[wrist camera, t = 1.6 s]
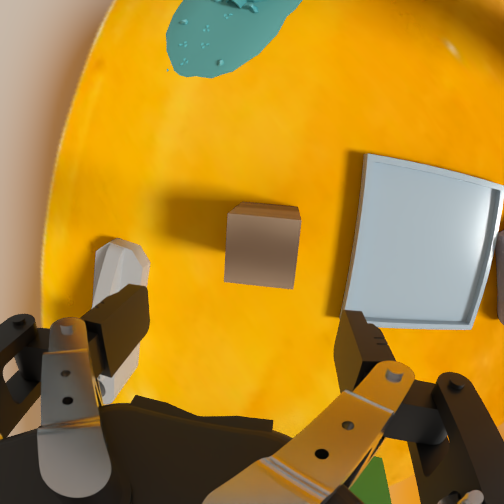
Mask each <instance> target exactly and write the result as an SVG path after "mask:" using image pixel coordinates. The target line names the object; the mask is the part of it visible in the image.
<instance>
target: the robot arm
mask: <svg viewBox="0 0 504 504" xmlns="http://www.w3.org/2000/svg"><path fill="white" fill-rule="evenodd" d="M149 324H150V317H149V303H148V290H147V288H146V286H141V285H135V284H127V285H126V286H125V287H124V288H123V289H121V290H120V291H119V292H118V293H115V294H112V295H110V296H107V297H106V298H104V299H103V300H102V301H101V302H100V303H98V304H97V305H96V306H95V307H93V308H92V309H91V310H90V311H88V312H87V313H86V314H85V315H83V316H82V317H81V318H80V319H79V318H75V317H68V318H63V319H59V320H57V321H56V322H54V323H53V324H52V325H51V327H50V329H47V328H37V326H36V322H35V318H34V317H33V316H32V315H29V314H18V315H14V316H12V317H10V318H8V319H7V320H6V321H4V322H3V323H2V324H0V504H365V503H364V502H362V501H361V500H360V499H359V498H358V497H357V496H356V495H355V494H354V493H353V492H351V491H350V490H349V489H350V488H351V487H352V485H353V484H354V483H355V481H356V480H357V478H358V477H359V476H360V474H361V473H362V471H363V470H364V469H365V467H366V466H367V465H368V463H369V462H370V461H371V459H372V458H373V456H374V455H375V454H376V452H377V451H378V449H379V448H380V446H381V445H382V443H383V442H384V440H385V439H386V437H388V438H393V439H398V440H403V441H407V443H408V447H409V451H410V455H411V459H412V463H413V468H414V472H415V477H416V481H417V486H418V491H419V496H420V502H421V504H504V441H503V439H502V437H501V435H500V433H499V431H498V429H497V427H496V425H495V423H494V422H493V420H492V418H491V416H490V414H489V412H488V411H487V409H486V407H485V405H484V403H483V402H482V400H481V398H480V396H479V395H478V393H477V391H476V390H475V388H474V386H473V385H472V383H471V382H470V381H469V380H468V379H467V378H466V377H464V376H463V375H460V374H458V373H453V372H446V373H443V374H441V375H440V376H439V377H438V379H437V381H436V384H434V383H428V382H423V381H418V380H415V375H414V372H413V371H412V370H411V369H410V368H409V367H408V366H406V365H405V364H403V363H400V362H397V361H396V360H395V358H394V356H393V354H392V352H391V350H390V348H389V346H388V345H387V344H388V343H387V341H386V339H384V338H385V337H384V335H383V333H382V332H381V330H380V329H379V328H378V327H376V326H375V325H374V324H371V323H367V321H366V319H365V317H364V315H363V312H362V311H355V310H343V311H342V314H341V318H340V323H339V327H338V332H337V336H336V340H335V345H334V362H335V367H336V372H337V377H338V382H339V387H340V393H341V394H340V395H339V396H338V397H337V398H336V399H335V400H334V401H333V402H332V403H331V404H330V405H329V406H328V407H327V408H326V409H325V410H324V411H323V412H322V413H321V414H319V415H318V416H317V417H316V418H315V419H314V420H313V421H312V422H311V423H310V424H309V425H308V426H306V427H305V428H304V429H303V430H302V431H301V432H300V433H299V434H297V435H296V436H295V437H294V438H291V437H289V436H287V435H285V434H282V433H280V432H277V431H274V430H272V428H273V420H267V419H258V418H249V417H242V416H211V417H203V416H197V415H194V414H191V413H189V412H187V411H184V410H182V409H180V408H177V407H175V406H173V405H171V404H168V403H166V402H161V401H157V400H153V399H149V398H145V397H142V396H138V395H135V397H134V398H133V400H132V402H131V403H116V404H109V405H104V404H103V400H102V395H101V391H100V386H99V382H98V378H97V377H98V376H99V375H103V376H107V377H110V378H112V377H113V375H114V374H115V373H116V372H117V370H118V369H119V368H120V366H121V365H122V364H123V363H124V361H125V360H126V359H127V357H128V356H129V355H130V354H131V352H132V351H133V350H134V349H135V347H136V346H137V345H138V344H139V342H140V341H141V340H142V338H143V337H144V336H145V335H146V333H147V332H148V329H149ZM13 357H14V358H15V360H16V363H17V366H18V368H19V370H18V371H17V372H16V373H15V374H14V375H13V376H12V377H11V378H10V379H9V380H8V381H7V382H6V383H5V381H4V378H3V368H4V366H5V365H6V364H7V363H8V362H9V361H10V360H11V359H12V358H13ZM40 395H41V426H39V427H38V428H37V429H34V430H31V431H27V432H24V433H21V434H18V435H14V436H11V437H7V436H8V435H9V434H10V432H11V431H12V430H13V429H14V427H15V426H16V425H17V424H18V422H19V421H20V420H21V419H22V417H23V416H24V415H25V413H26V412H27V411H28V410H29V409H30V407H31V406H32V405H33V404H34V403H35V401H36V400H37V399H38V398H39V397H40ZM447 435H448V437H449V440H448V438H447ZM449 442H450V443H449Z"/></svg>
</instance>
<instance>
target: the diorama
mask: <svg viewBox="0 0 504 504" xmlns="http://www.w3.org/2000/svg"><path fill="white" fill-rule="evenodd" d="M301 2H302V0H183V2H182V3H181V4H180V6H179V7H178V9H177V10H176V12H175V13H174V15H173V17H172V20H171V22H170V25H169V28H168V30H167V33H166V40H167V53H168V55H169V58H170V61H171V63H172V66H173V68H174V71H176V72H177V73H178V74H179V75H181V76H185V77H192V76H199V77H206V78H214V77H216V76H219V75H222V74H225V73H229V72H232V71H234V70H236V69H237V68H239V67H240V66H241V65H243V64H244V63H246V62H247V61H249V60H250V59H252V58H253V57H255V56H257V55H258V54H259V53H260V52H261V51H262V50H263V49H264V48H265V47H266V45H267V44H268V43H269V42H270V41H271V40H272V39H273V38H274V37H275V36H276V35H277V34H278V32H279V30H280V28H281V26H282V25H283V23H284V21H285V19H286V17H287V16H288V15H289V14H290V13H292V12H293V11H294V10H295V9H296V8H297V6H298V5H299V4H300V3H301ZM168 71H169V70H168V69H167V72H168Z"/></svg>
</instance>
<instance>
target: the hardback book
mask: <svg viewBox="0 0 504 504" xmlns="http://www.w3.org/2000/svg"><path fill="white" fill-rule="evenodd" d="M349 490H350V491H351V492H353V493H354V494H355V495H356V496H357V497H358V498H359V499H360V500H361V501H362V502H364V503H365V504H391V499H390V494H389V488H388V484H387V479H386V474H385V470H384V465H383V461H382V458H379V457H375V456H373V458H372V459H371V461H370V462H369V463H368V465H367V466H366V467H365V469H364V470H363V471H362V473H361V474H360V476H359V477H358V478H357V480H356V481H355V483H354V484H353V485H352V487H351V488H350V489H349Z"/></svg>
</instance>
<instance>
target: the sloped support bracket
mask: <svg viewBox="0 0 504 504" xmlns="http://www.w3.org/2000/svg"><path fill="white" fill-rule="evenodd" d="M149 268H150V261H149V260H148V258H147V256H146V255H145V253H144V251H143V249H142V248H141V246H140V245H138V244H135V243H132V242H129V241H126V240H123V239H120V238H117V239H115V240H112V241H110V242H109V243H107V244H106V245H104V246H103V247H101V248H100V249H98V250H97V251H96V257H95V270H94V286H93V304H92V308H93V307H95V306H96V305H97V304H98V303H100V302H101V301H102V300H103V299H104V298H106V297H107V296H110V295H112V294H115V293H118V292H119V291H120V290H121V289H123V288H124V287H125V286H126V285H127V284H135V285H141V286H146V288H147V281H148V274H149ZM92 308H91V309H92ZM139 347H140V342H139V344H138V345H137V346H136V347H135V349H134V350H133V351H132V352H131V354H130V355H129V356H128V357H127V359H126V360H125V361H124V363H123V364H122V365H121V366H120V368H119V369H118V370H117V372H116V373H115V374H114V375H113V377H112V378H110V377H107V376H103V375H99V376H98V377H97V378H98V382H99V386H100V391H101V395H102V400H103V404H110V403H112V402H113V400H114V399H115V398H116V396H117V395H118V393H119V392H120V390H121V389H122V388H123V386H124V385H125V383H126V382H127V381H128V379H129V378H130V376H131V375H132V374H133V372H134V371H135V369H136V368H137V366H138V358H139Z"/></svg>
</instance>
